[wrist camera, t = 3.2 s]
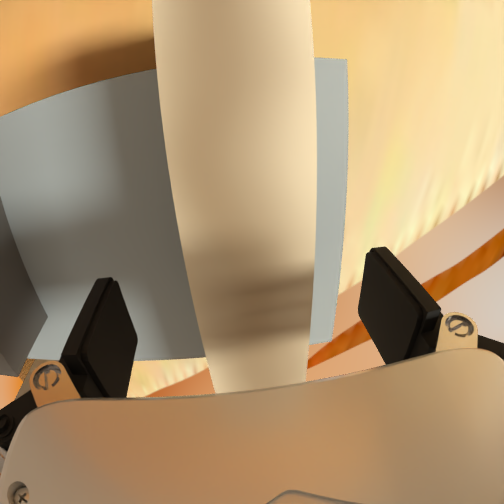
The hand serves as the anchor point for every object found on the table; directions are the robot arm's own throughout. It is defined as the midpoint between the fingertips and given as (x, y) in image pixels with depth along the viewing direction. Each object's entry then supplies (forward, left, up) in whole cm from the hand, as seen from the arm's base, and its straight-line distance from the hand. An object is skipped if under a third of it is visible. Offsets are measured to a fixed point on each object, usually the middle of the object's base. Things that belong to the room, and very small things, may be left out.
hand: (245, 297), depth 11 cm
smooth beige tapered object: (0, 0, -3) cm, 3 cm away
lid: (+8, 0, -6) cm, 10 cm away
